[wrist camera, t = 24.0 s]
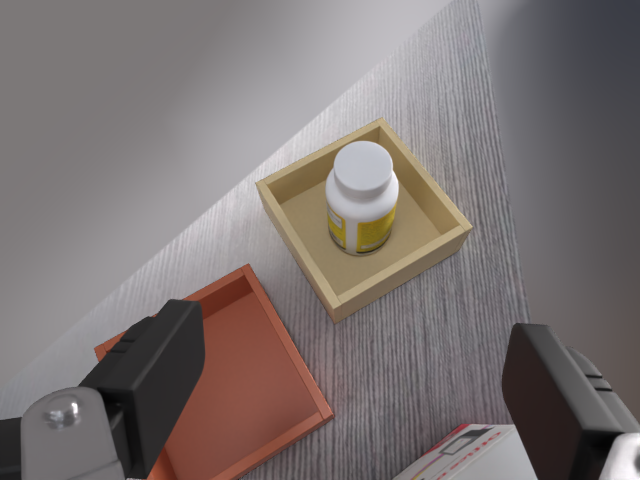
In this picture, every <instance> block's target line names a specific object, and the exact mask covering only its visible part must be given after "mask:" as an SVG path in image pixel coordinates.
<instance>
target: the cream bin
mask: <svg viewBox="0 0 640 480" xmlns="http://www.w3.org/2000/svg"><path fill="white" fill-rule="evenodd" d="M357 141H369V142H373V143H376V144H378V145H380V146H382V147H383V148H384V149H385V150H386V151H387V152H388V153H389V155H390V156H391V159H392V163H393V171H394V173H395V175H396V177H397V180H398V185H399V192H398V199H397V203H396V209H395V215H394V220H393V225H392V230H391V234H390V237H389V239H388V241H387V242H386V244H385V245H384V246H383V247H382V248H381V249H379V250H378V251H376V252H374V253H372V254H368V255H361V256H359V255H352V254H349V253H346V252H344V251H343V250H341V249H340V248H338V247H337V246H336V244H335V243H334V242H333V240H332V238H331V236H330V233H329V228H328V217H327V205H326V194H325V186H326V181H327V177H328V175H329V173H330V171H331V170H332V169H333V168H334V161H335V158H336V155H337V154H338V152H339V151H340V150H341V149H342V148H343V147H345V146H346V145H348V144H350V143H353V142H357ZM255 184H256V187H257V189H258V192H259V195H260V198H261V201H262V204H263V206H264V209H265V211H266V213H267V214H268V216H269V218H270V219H271V221H272V222H273V224H274V226H275V227H276V229H277V231H278V232H279V234H280V236H281V237H282V239H283V240H284V242H285V244H286V245H287V247H288V249H289V250H290V252H291V254H292V255H293V257H294V259H295V260H296V262H297V263H298V265H299V267H300V268H301V270H302V272H303V273H304V275H305V277H306V278H307V280H308V282H309V283H310V285H311V286H312V288H313V290H314V291H315V293H316V295H317V296H318V298H319V300H320V301H321V303H322V305H323V306H324V308H325V309H326V311H327V313H328V314H329V316H330V318H331V319H332V321H333V323H334V324H336V323H338V322H340V321H341V320H343V319H345V318H346V317H348V316H350V315H351V314H353V313H355V312H356V311H358V310H360V309H361V308H363V307H365V306H367V305H368V304H370V303H372V302H373V301H375V300H377V299H378V298H380V297H382V296H383V295H385V294H387V293H388V292H390V291H392V290H393V289H395V288H397V287H398V286H400V285H402V284H403V283H405V282H407V281H408V280H410V279H412V278H413V277H415V276H417V275H419V274H420V273H422V272H424V271H425V270H427V269H429V268H430V267H432V266H434V265H435V264H437V263H439V262H440V261H442V260H444V259H445V258H447V257H449V256H450V255H452V254H454V253H455V252H457V251H459V250H460V248H461V246H462V244H463V243H464V241H465V239H466V238H467V236H468V234H469V233H470V231H471V229H472V228H473V227H472V225H471V224H470V223H469V222H468V221H467V219H466V218H465V217H464V216H463V215H462V213H461V212H460V211H459V210H458V208H457V207H456V206H455V205H454V204H453V202H452V201H451V200H450V199H449V198H448V196H447V195H446V194H445V193H444V191H443V190H442V189H441V188H440V187H439V185H438V184H437V183H436V182H435V180H434V179H433V178H432V177H431V176H430V174H429V173H428V172H427V171H426V170H425V168H424V167H423V166H422V165H421V163H420V162H419V161H418V160H417V159H416V157H415V156H414V155H413V154H412V153H411V151H410V150H409V149H408V148H407V146H406V145H405V144H404V143H403V142H402V140H401V139H400V138H399V137H398V136H397V134H396V133H395V132H394V131H393V129H392V128H391V127H390V126H389V125H388V123H387V122H386V121H385V120H384V118H383V117H381V118H379V119H378V120H376V121H374V122H372V123H370V124H368V125H366V126H364V127H362V128H360V129H358V130H356V131H354V132H352V133H351V134H349V135H347V136H345V137H343V138H341V139H339V140H337V141H335V142H333V143H331V144H329V145H327V146H325V147H324V148H322V149H320V150H318V151H316V152H314V153H312V154H310V155H308V156H306V157H304V158H302V159H300V160H299V161H297V162H295V163H293V164H291V165H289V166H287V167H285V168H283V169H281V170H279V171H277V172H275V173H273V174H272V175H270V176H268V177H266V178H264V179H262V180H260V181H258V182H256V183H255Z"/></svg>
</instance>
